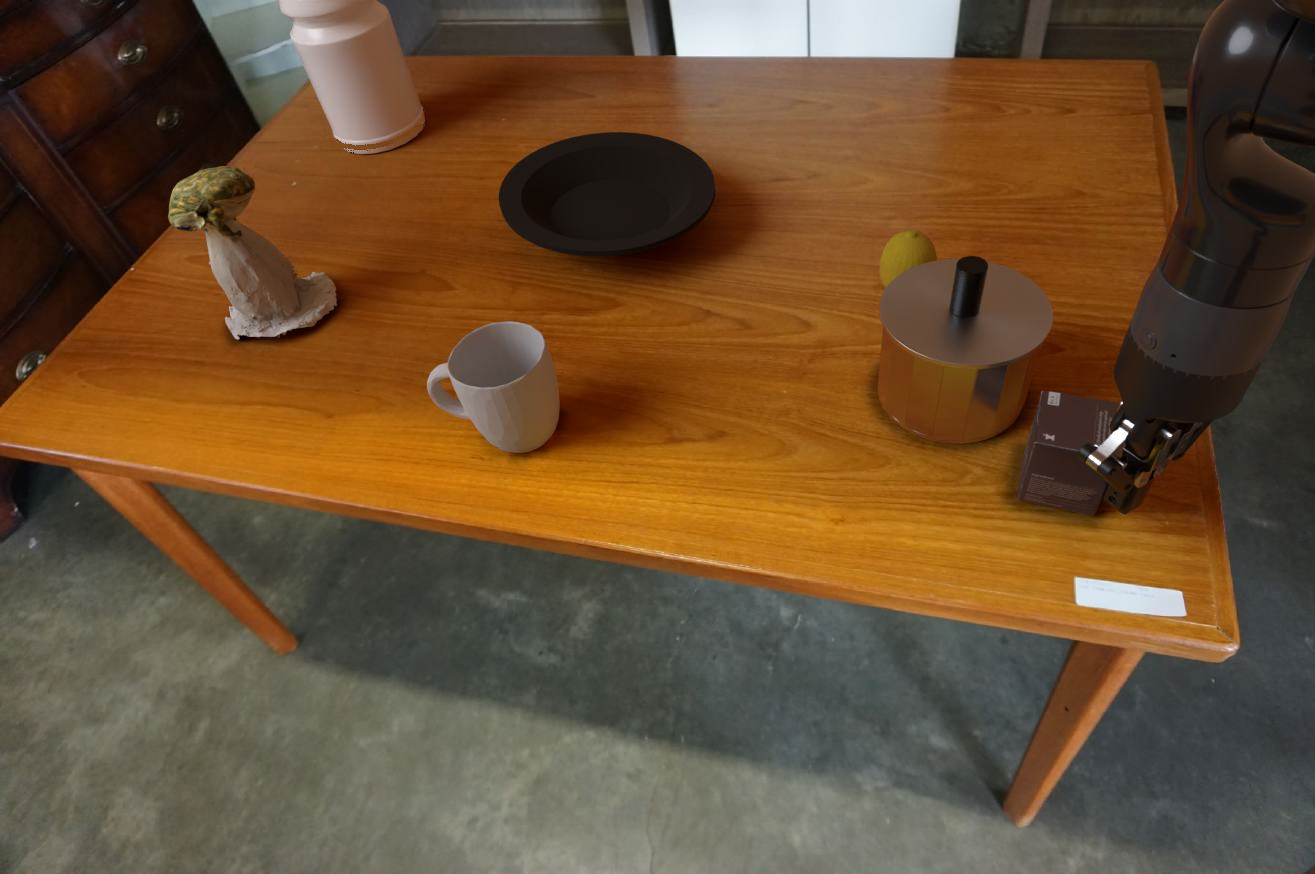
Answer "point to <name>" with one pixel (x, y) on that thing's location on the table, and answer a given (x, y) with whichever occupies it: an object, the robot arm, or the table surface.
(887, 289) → the pot lid
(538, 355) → the mug
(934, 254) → the lemon
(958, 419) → the pot
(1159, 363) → the robot arm
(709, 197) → the plate
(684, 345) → the table surface
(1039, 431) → the box
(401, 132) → the bottle
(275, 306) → the mushroom
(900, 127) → the table surface
